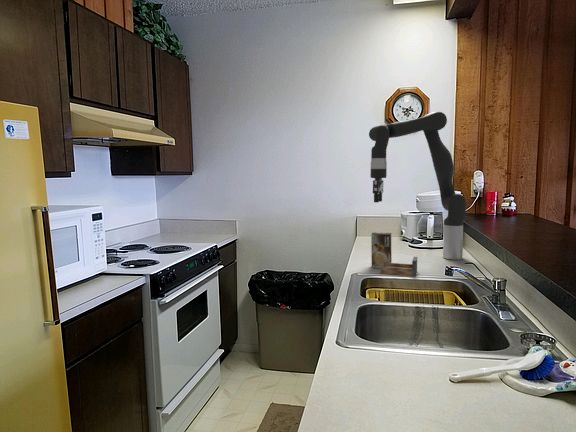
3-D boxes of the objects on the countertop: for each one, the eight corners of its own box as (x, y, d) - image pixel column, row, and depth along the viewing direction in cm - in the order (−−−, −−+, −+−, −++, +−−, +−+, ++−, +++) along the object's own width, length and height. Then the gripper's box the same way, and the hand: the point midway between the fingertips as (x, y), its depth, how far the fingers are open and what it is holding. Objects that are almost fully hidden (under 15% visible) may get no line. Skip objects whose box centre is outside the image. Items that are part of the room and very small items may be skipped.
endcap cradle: (417, 271, 180) (417, 256, 179) (415, 276, 171) (415, 261, 171) (384, 269, 185) (384, 254, 185) (381, 273, 177) (381, 258, 176)
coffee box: (391, 266, 191) (392, 232, 189) (391, 269, 185) (391, 234, 183) (372, 265, 194) (372, 232, 192) (370, 268, 187) (371, 234, 186)
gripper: (383, 167, 185) (383, 203, 186) (388, 168, 198) (388, 201, 199) (367, 167, 188) (367, 202, 189) (373, 168, 201) (373, 201, 202)
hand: (378, 201), depth 194 cm, fingers open, 8 cm apart
